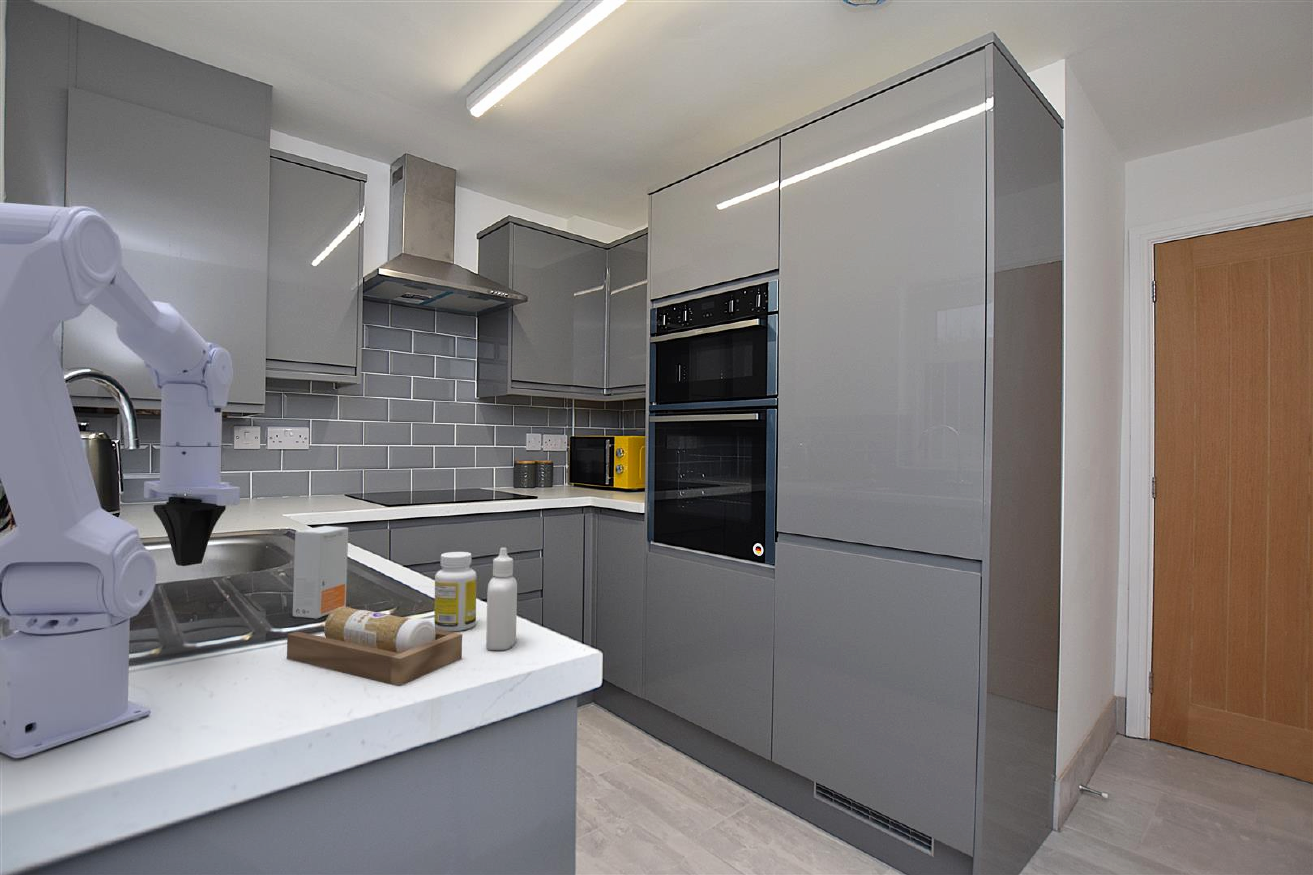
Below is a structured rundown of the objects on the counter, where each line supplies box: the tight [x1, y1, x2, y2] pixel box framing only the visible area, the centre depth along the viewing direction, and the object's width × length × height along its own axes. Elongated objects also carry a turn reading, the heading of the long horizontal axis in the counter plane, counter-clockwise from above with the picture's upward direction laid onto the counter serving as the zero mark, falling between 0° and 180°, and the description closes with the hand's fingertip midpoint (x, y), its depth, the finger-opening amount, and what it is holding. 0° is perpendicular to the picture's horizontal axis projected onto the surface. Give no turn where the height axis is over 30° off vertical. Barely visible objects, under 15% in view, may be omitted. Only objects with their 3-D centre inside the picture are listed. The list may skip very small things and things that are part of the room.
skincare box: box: [292, 525, 349, 619], centre depth 93 cm, size 6×4×12 cm
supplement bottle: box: [434, 551, 477, 632], centre depth 88 cm, size 5×5×10 cm
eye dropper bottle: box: [485, 547, 518, 651], centre depth 81 cm, size 4×6×12 cm
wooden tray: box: [286, 628, 463, 686], centre depth 75 cm, size 9×17×3 cm, turn 66°
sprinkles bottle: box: [323, 606, 436, 653], centre depth 77 cm, size 5×5×14 cm
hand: (189, 564), depth 75 cm, fingers closed
